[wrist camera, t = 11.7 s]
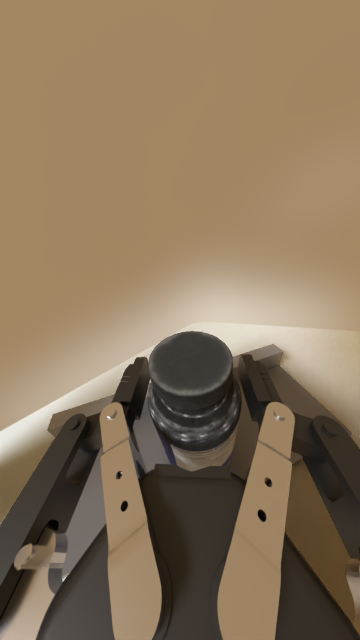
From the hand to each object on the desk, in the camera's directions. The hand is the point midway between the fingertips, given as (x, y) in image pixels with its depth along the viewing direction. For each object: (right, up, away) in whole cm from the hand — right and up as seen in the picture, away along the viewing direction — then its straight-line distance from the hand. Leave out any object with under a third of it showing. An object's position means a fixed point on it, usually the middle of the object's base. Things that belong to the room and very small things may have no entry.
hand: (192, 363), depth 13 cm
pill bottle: (+1, -8, +3) cm, 8 cm away
